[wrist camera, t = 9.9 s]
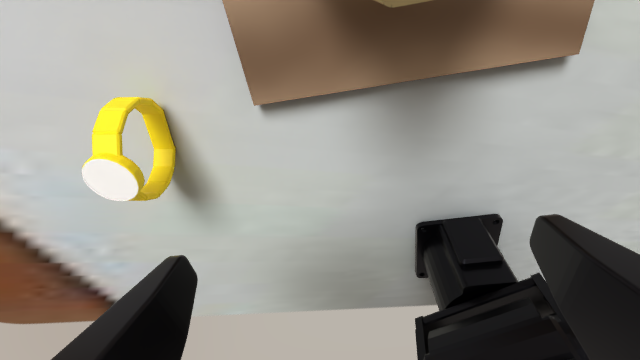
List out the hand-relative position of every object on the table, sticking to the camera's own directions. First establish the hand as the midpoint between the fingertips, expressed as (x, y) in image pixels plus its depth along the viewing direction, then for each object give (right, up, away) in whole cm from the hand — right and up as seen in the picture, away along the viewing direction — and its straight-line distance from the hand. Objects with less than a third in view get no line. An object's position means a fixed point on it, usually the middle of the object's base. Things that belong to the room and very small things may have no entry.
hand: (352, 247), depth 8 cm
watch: (-12, +5, +13) cm, 18 cm away
